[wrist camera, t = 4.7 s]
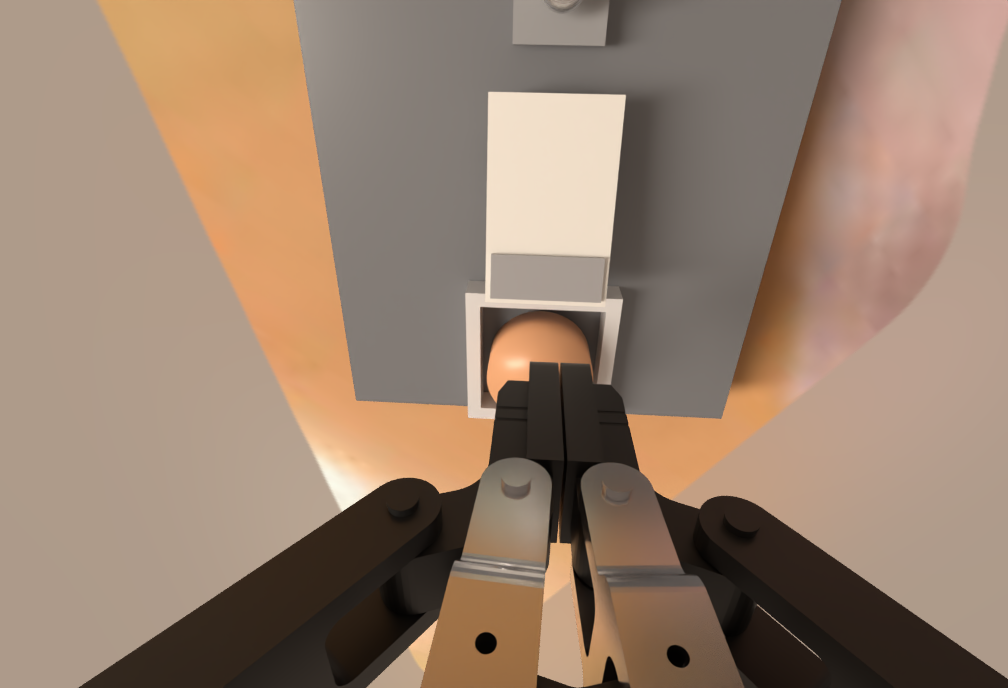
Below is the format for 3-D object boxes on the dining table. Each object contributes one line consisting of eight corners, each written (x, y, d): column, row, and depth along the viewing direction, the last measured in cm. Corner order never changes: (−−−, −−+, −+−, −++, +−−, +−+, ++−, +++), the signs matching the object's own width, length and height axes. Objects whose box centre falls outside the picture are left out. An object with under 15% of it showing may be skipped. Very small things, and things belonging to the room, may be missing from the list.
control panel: (898, -377, 14) (1022, -526, 11) (704, 383, 27) (730, 436, 24) (276, -367, 15) (191, -502, 12) (373, 368, 28) (347, 416, 24)
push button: (594, 313, 22) (598, 336, 20) (584, 397, 24) (587, 424, 22) (490, 309, 22) (486, 331, 20) (490, 393, 24) (486, 419, 22)
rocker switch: (620, 99, 17) (626, 93, 16) (601, 298, 20) (606, 308, 18) (491, 96, 18) (487, 90, 16) (487, 294, 20) (484, 303, 19)
